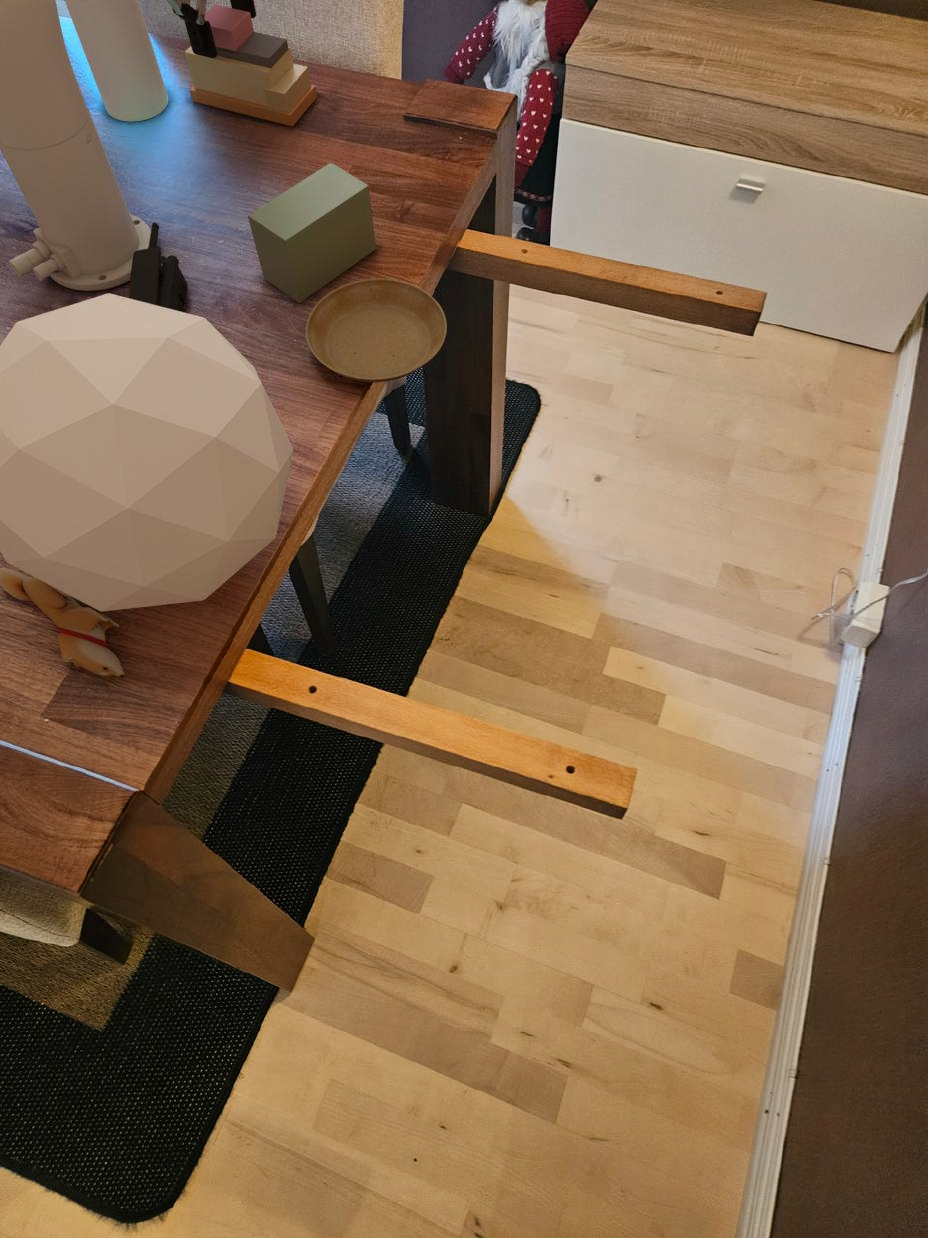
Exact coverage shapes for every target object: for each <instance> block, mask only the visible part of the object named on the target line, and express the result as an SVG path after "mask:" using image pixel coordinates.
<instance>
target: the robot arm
mask: <svg viewBox="0 0 928 1238" xmlns="http://www.w3.org/2000/svg"><path fill="white" fill-rule="evenodd" d="M166 2H167V3H168V5H169V6H170V7H171V10H172V12H173V14H174V15H176V16H177V17H178V18H179V19H180V21H183V22H184V25H185V29H186V32H187V36H188V40H189V44H190V46H191V47H192V51H193V53H194V54H196V55H200V56H204V57H208V58H213V59H214V58H215V57H216V56H217V50H216V46H215V42H214V38H213V34H212V30H211V26H210V23H209V21H206V20H205V14H206V13H207V4H208V3H207V2H208V0H196V4H195V8H193V7H192V6H191V0H166ZM229 2H230V8H233V9H237V10H242V11H246V12H250V15H251V20H252V19H253V20H254V19H255V18H256V17H257V10H256V9H257V8H256V4H255V0H229ZM59 15H60V14H59V11H58V4H57V0H0V152H1V154H2V156H3V158H4V160H5V163H7V166H8V167H9V169H10V171H11V173H12V175H13V177H14V179H15V182H16V183H17V185H18V187H19V188H20V191H21V193H22V195H23V197H24V199H25V201H26V203H27V205H28V206H29V209H30V211H31V213H32V215H33V217H34V218H35V221H36V222H37V224H38V227H37V228H35V229H33V230H32V232H33V234H34V237H35V239H36V241H35V242H33V243H31V244H30V245H31V249H29V250H27V251H25V252H22V253H20V254H18V255H17V256H15V257H13V258H12V259H10V260H8V265H9V267H10V269H12V271H13V273H14V274H15V275H16V276H18V278H20V279H22V278H24V277H25V276H27V275H28V274H29V273H32V272H33V274H34V275H35V276H36V277H37V279H38V280H39V281H43V280H44V279H47V278H48V277H50V279H52V280H53V281H54V282H55V283H57V284H59V286H63V287H65V288H68V289H72V290H76V291H86V292H92V291H95V292H96V291H103V290H109V289H113V288H116V287H118V286H121V285H123V284H126V283H128V282H130V276H131V266H132V260H133V254H134V252H135V251H138V250H142V249H148V246H149V240H150V234H151V230H152V229H151V228H150V226H149V224H147V223H146V222H145V221H144V220H143V219H141V218H139V217H138V216H136V215H133V214H131V212H130V210H129V208H128V205H127V203H126V200H125V198H124V195H123V192H122V190H121V188H120V186H119V183H118V180H117V177H116V175H115V173H114V169H113V168H112V165H111V163H110V160H109V158H108V156H107V153H106V149H105V148H104V145H103V143H102V140H101V138H100V134H99V132H98V130H97V128H96V125H95V123H94V120H93V117H92V115H91V112H90V110H89V108H88V106H87V103H86V100H85V98H84V95H83V93H82V91H81V88H80V85H79V83H78V80H77V77H76V74H75V72H74V69H73V66H72V63H71V59H70V56H69V54H68V50H67V46H66V43H65V38H64V34H63V30H62V26H61V20H60V16H59Z"/></svg>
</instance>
